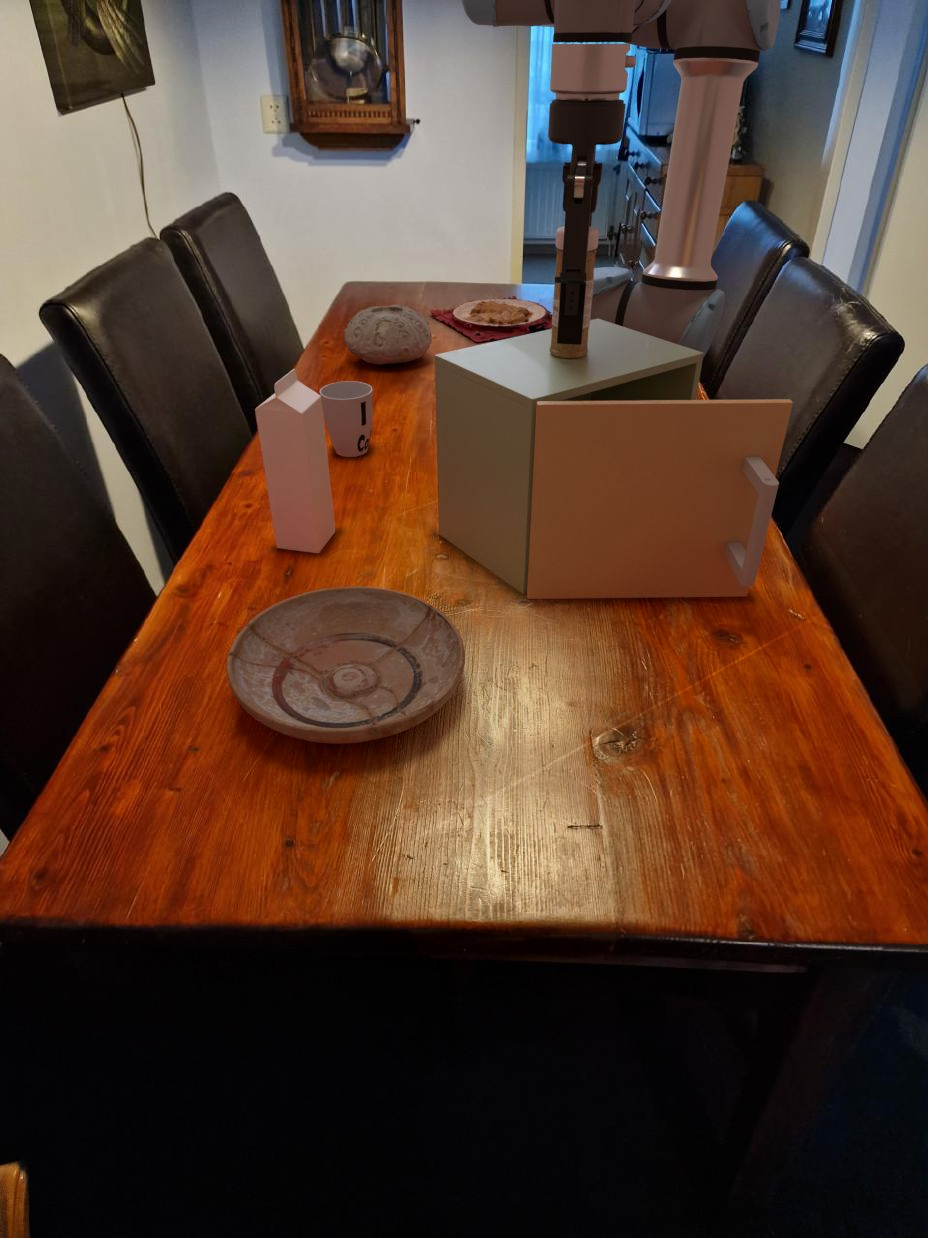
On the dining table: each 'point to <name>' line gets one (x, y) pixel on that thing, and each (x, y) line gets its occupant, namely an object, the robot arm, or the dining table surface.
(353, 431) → the cup
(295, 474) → the milk
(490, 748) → the dining table surface
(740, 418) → the door
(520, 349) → the cabinet
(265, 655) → the ceramic bowl
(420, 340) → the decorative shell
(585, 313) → the sprinkles bottle
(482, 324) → the plate with food
